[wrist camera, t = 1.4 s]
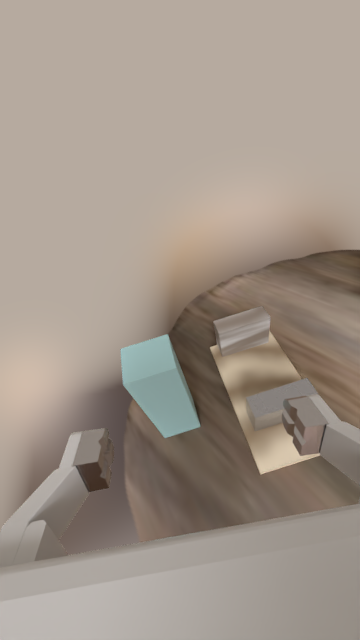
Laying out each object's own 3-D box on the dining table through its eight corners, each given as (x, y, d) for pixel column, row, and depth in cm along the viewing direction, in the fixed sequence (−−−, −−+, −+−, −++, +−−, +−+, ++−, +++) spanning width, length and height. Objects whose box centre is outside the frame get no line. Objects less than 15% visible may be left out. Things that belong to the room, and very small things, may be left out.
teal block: (200, 426, 40) (176, 367, 27) (164, 438, 40) (123, 384, 27) (192, 398, 43) (167, 334, 30) (159, 408, 43) (120, 349, 30)
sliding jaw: (313, 412, 36) (320, 397, 33) (254, 431, 36) (255, 418, 33) (301, 394, 38) (307, 377, 35) (246, 412, 38) (246, 397, 35)
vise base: (343, 447, 34) (362, 427, 28) (260, 474, 34) (262, 459, 28) (268, 331, 49) (270, 303, 43) (210, 350, 49) (205, 323, 43)
